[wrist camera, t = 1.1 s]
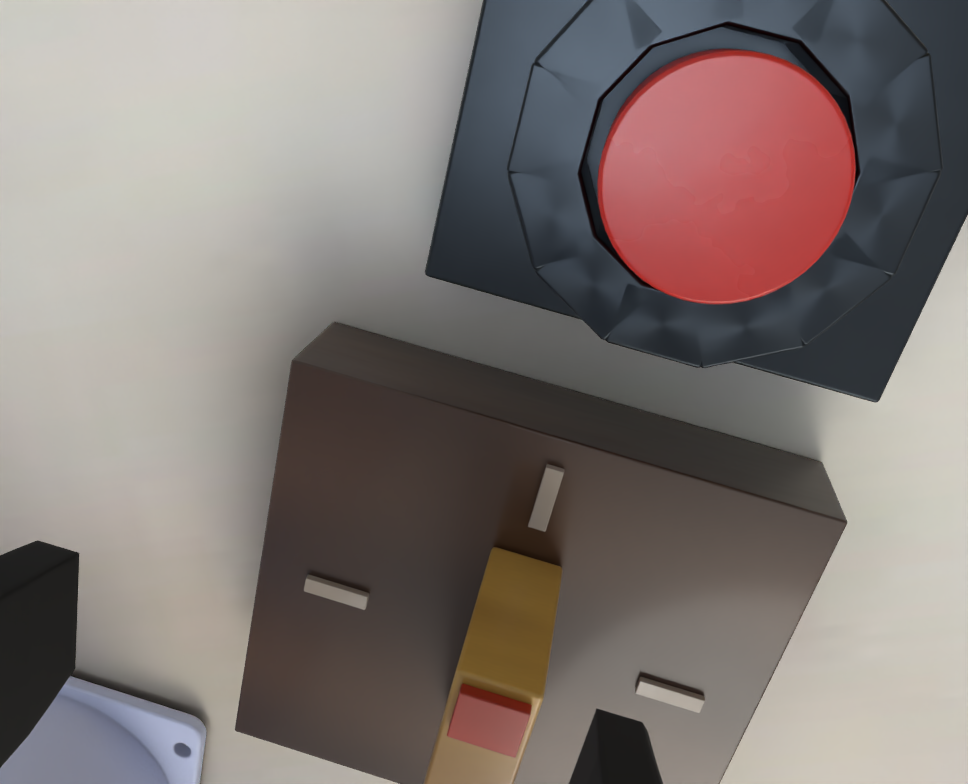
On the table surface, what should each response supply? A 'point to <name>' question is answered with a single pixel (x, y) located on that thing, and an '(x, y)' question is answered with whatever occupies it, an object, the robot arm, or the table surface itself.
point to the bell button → (725, 176)
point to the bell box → (585, 127)
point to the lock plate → (527, 531)
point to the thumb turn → (498, 674)
